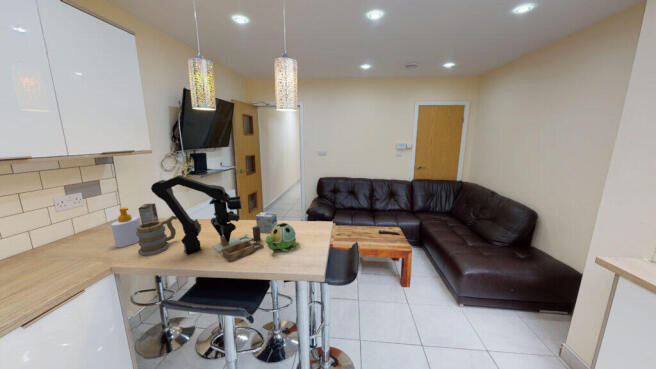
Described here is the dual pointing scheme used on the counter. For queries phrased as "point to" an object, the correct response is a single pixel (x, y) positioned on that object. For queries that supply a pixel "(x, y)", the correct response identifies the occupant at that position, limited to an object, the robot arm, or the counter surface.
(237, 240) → the lid
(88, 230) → the counter surface
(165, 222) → the tankard
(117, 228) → the soap bottle
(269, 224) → the light bulb box
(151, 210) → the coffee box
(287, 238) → the turtle holder
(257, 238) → the key peg
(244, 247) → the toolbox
